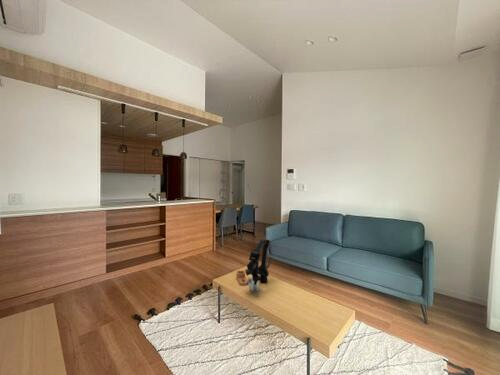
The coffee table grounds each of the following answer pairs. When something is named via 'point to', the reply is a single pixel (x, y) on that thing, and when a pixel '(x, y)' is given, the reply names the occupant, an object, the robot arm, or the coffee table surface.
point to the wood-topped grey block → (252, 285)
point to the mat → (254, 291)
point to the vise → (250, 282)
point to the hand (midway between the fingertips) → (254, 283)
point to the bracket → (241, 278)
